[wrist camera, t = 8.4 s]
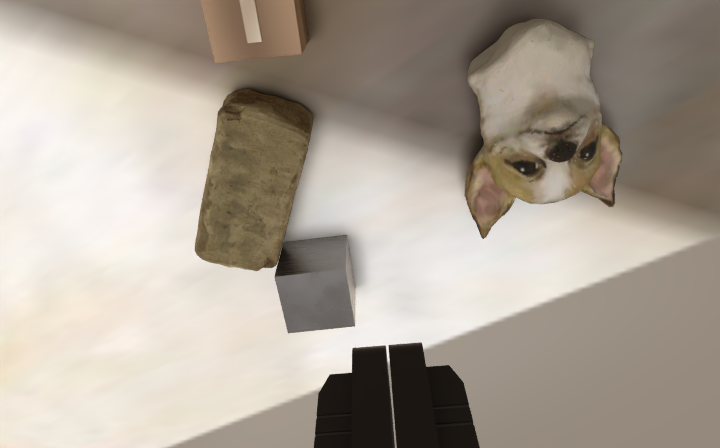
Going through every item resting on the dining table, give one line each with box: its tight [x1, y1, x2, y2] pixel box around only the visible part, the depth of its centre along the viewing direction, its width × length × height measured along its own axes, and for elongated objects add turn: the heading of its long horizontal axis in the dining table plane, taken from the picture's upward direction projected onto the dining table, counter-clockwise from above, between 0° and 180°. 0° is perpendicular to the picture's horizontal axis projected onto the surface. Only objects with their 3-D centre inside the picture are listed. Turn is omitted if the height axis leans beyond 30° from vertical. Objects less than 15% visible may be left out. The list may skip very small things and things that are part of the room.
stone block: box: [195, 89, 314, 271], centre depth 36 cm, size 6×12×5 cm, turn 165°
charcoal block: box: [275, 235, 355, 333], centre depth 40 cm, size 5×5×5 cm
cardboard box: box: [201, 0, 309, 63], centre depth 31 cm, size 5×5×5 cm
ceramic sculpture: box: [465, 19, 622, 239], centre depth 33 cm, size 11×9×15 cm
